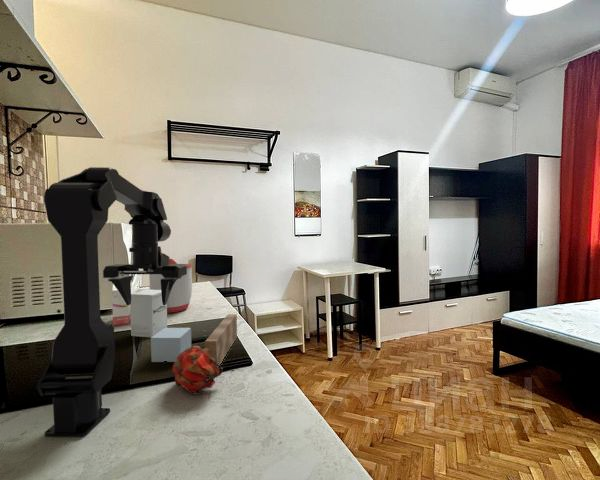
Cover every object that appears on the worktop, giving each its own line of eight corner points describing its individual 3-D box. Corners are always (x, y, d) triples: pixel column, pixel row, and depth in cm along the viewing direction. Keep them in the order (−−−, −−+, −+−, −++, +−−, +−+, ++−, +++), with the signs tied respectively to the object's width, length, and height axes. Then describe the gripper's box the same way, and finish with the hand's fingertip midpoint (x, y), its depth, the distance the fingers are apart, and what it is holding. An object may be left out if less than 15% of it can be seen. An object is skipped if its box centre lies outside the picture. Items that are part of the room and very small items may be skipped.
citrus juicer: (183, 301, 129) (182, 255, 128) (199, 310, 116) (198, 258, 115) (143, 308, 119) (142, 257, 118) (156, 318, 106) (154, 261, 105)
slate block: (180, 362, 72) (179, 337, 72) (151, 362, 72) (150, 337, 72) (191, 350, 79) (191, 327, 79) (165, 350, 79) (164, 327, 79)
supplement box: (152, 338, 87) (151, 295, 87) (130, 336, 89) (128, 294, 88) (168, 329, 95) (167, 289, 94) (147, 327, 96) (146, 288, 96)
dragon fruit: (185, 381, 66) (213, 412, 58) (153, 370, 61) (179, 403, 52) (208, 345, 69) (237, 370, 60) (179, 332, 63) (207, 358, 55)
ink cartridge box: (130, 323, 100) (128, 280, 99) (112, 326, 98) (111, 281, 97) (132, 316, 108) (130, 276, 107) (116, 318, 106) (114, 277, 105)
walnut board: (216, 372, 67) (216, 341, 67) (205, 372, 67) (205, 341, 67) (237, 338, 87) (236, 314, 87) (228, 338, 87) (228, 314, 87)
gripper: (194, 241, 83) (195, 297, 84) (128, 242, 84) (129, 297, 84) (176, 243, 72) (177, 308, 72) (100, 243, 73) (102, 307, 73)
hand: (146, 304), depth 76 cm, fingers open, 9 cm apart
